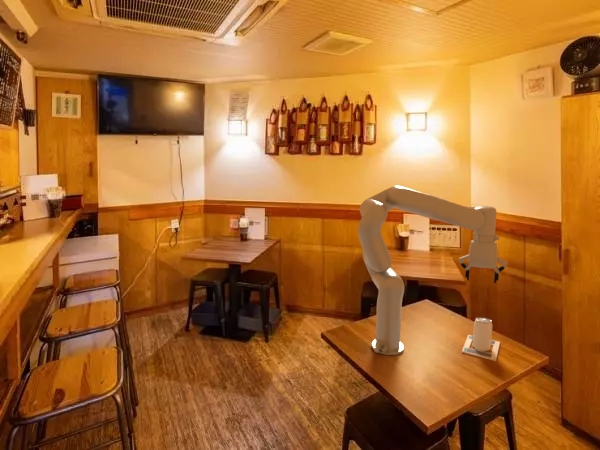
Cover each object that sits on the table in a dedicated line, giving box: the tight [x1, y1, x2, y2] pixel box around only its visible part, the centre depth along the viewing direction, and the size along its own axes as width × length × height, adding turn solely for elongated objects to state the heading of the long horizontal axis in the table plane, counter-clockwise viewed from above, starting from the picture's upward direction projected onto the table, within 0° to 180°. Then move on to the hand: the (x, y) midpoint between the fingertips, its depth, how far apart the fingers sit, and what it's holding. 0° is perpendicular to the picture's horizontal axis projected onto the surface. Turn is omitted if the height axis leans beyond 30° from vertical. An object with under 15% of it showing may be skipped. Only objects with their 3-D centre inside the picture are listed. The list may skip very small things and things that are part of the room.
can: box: [472, 316, 493, 352], centre depth 151 cm, size 6×6×12 cm
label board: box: [461, 334, 501, 362], centre depth 152 cm, size 16×12×1 cm
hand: (481, 280), depth 150 cm, fingers open, 9 cm apart
